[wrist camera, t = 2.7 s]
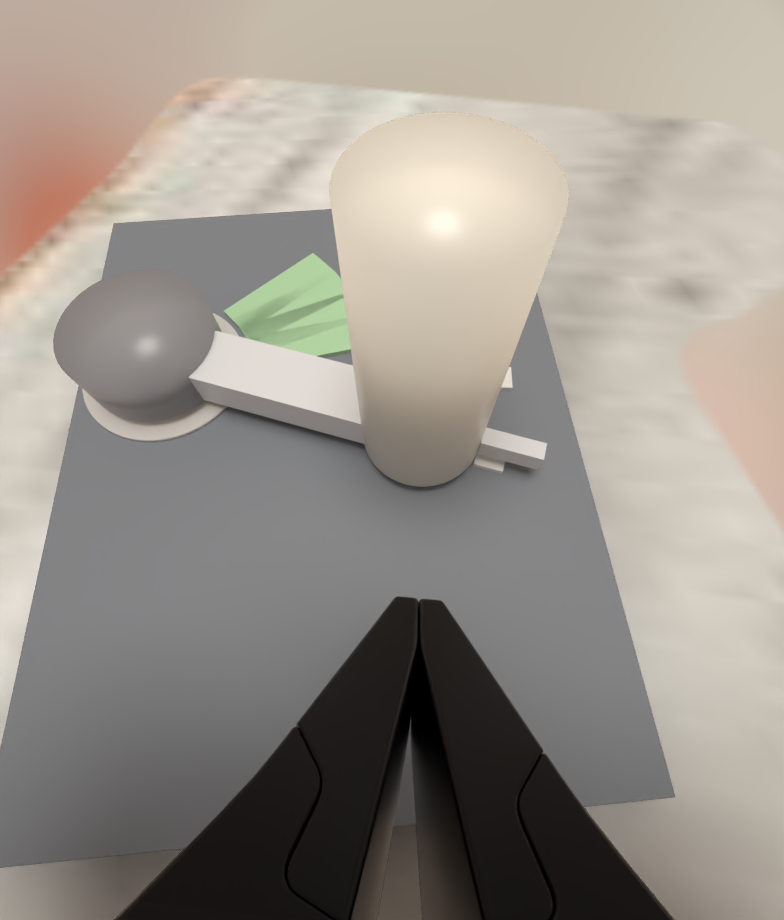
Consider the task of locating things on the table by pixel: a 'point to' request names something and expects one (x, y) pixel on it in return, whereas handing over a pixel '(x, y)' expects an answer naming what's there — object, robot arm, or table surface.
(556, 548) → the board
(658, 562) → the table surface
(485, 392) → the needle lever
